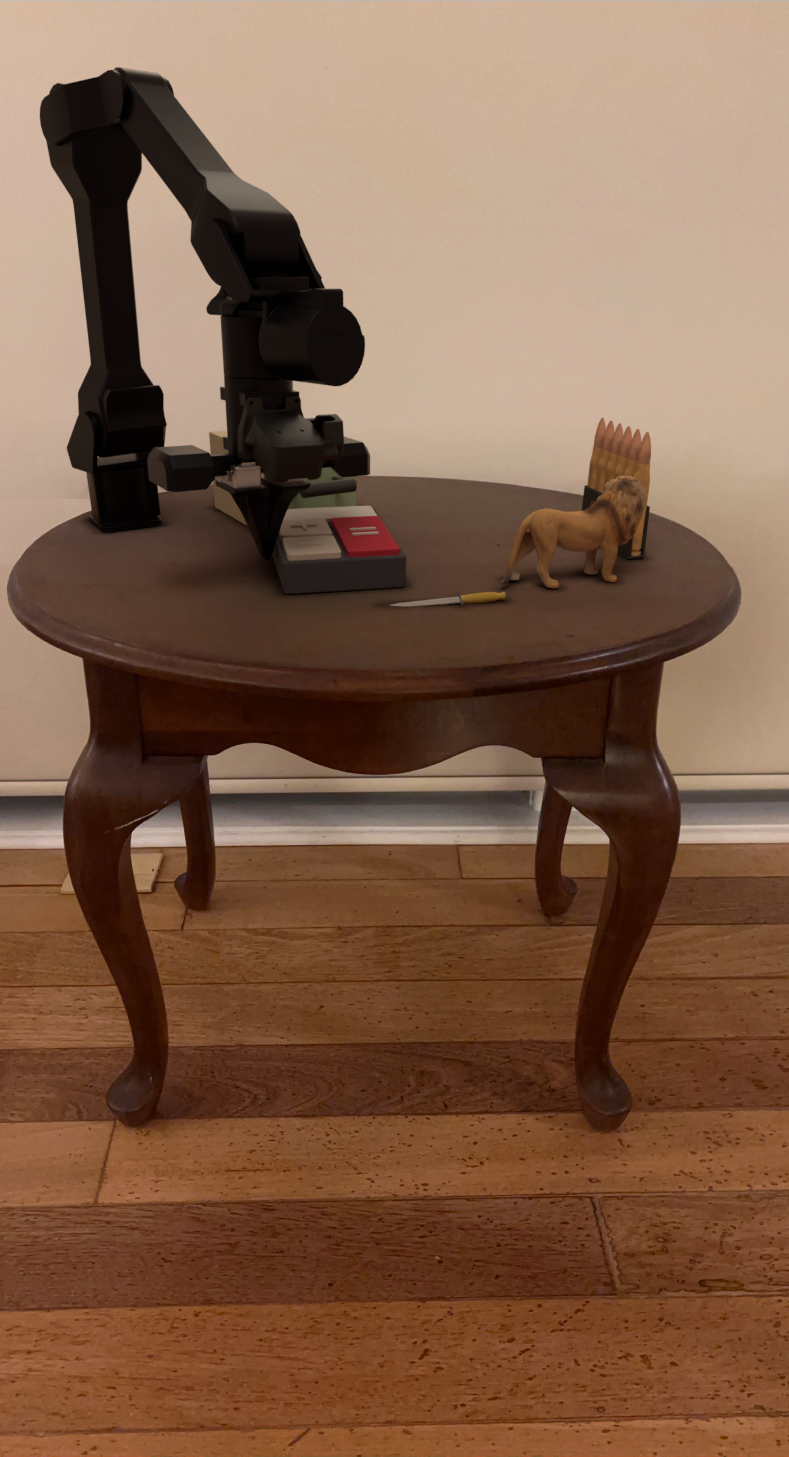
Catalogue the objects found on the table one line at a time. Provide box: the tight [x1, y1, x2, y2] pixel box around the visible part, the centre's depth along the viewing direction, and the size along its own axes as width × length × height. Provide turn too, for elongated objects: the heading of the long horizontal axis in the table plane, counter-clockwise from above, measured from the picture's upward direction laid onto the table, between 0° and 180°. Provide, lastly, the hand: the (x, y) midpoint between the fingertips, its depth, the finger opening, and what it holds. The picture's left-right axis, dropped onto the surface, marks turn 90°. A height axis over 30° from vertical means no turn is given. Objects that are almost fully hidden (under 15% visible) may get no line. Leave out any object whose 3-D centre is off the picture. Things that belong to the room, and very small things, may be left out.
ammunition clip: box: [581, 417, 652, 560], centre depth 93 cm, size 11×2×12 cm, turn 17°
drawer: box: [288, 467, 358, 509], centre depth 102 cm, size 17×10×7 cm, turn 31°
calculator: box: [271, 505, 407, 595], centre depth 88 cm, size 11×4×15 cm
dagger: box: [390, 591, 508, 608], centre depth 79 cm, size 11×1×2 cm
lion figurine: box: [499, 476, 646, 589], centre depth 83 cm, size 15×5×9 cm, turn 116°
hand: (266, 559), depth 84 cm, fingers closed
